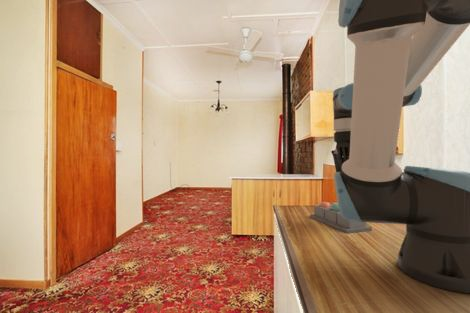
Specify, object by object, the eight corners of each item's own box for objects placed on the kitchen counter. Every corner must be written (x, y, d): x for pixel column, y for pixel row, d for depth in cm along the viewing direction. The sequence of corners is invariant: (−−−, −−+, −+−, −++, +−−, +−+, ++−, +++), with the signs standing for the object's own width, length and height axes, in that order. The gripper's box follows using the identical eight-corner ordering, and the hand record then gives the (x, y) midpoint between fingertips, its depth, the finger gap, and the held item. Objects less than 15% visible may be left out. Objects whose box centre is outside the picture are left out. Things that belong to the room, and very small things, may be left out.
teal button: (344, 215, 87) (344, 204, 87) (336, 216, 86) (336, 204, 86) (338, 213, 91) (337, 202, 91) (329, 213, 90) (329, 203, 90)
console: (371, 230, 79) (371, 215, 79) (347, 233, 76) (347, 218, 76) (329, 214, 100) (329, 203, 100) (309, 217, 98) (309, 205, 98)
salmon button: (332, 213, 94) (332, 203, 94) (324, 214, 93) (324, 204, 93) (326, 211, 97) (326, 201, 97) (318, 212, 96) (318, 202, 96)
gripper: (367, 129, 78) (369, 197, 78) (341, 132, 91) (342, 191, 91) (349, 129, 76) (351, 199, 77) (324, 132, 89) (326, 193, 89)
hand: (346, 195), depth 84 cm, fingers closed
